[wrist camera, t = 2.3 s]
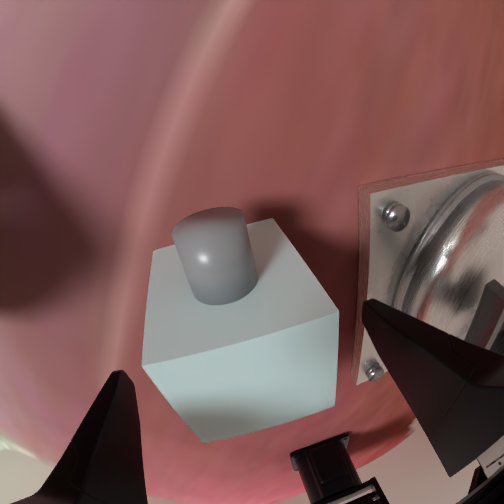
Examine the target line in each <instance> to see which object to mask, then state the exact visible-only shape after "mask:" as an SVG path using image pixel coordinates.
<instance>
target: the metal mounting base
mask: <svg viewBox="0 0 504 504" xmlns="http://www.w3.org/2000/svg"><path fill="white" fill-rule="evenodd" d="M358 202H359V273H358V297H357V313H356V327H355V339H354V349H353V359H352V368H351V377H352V379H353V380H354V382H355V384H356V385H358V384H360V383H363V382H365V381H367V380H369V381H371V382H373V381H376V380H378V379H379V378H380V377H381V376H382V375H383V374H384V373H385V372H387V371H388V370H387V368H386V367H385V365H384V363H383V362H382V360H381V359H380V357H379V355H378V353H377V351H376V349H375V347H374V345H373V343H372V341H371V339H370V337H369V335H368V333H367V331H366V329H365V327H364V325H363V322H362V318H361V316H362V305H363V302H364V301H366V300H369V299H372V298H373V299H376V300H378V301H381V302H383V303H385V304H387V305H389V306H391V307H393V308H396V309H398V310H400V311H402V312H404V313H406V314H408V315H411V316H413V317H415V318H417V319H419V320H421V321H423V322H426V323H428V324H430V325H432V326H434V327H436V328H438V329H440V330H443V331H445V332H447V333H448V334H451V335H453V336H455V337H458V338H460V339H462V340H464V341H467V342H469V343H472V344H474V345H477V346H479V347H482V348H485V349H488V350H491V351H494V352H496V353H499V354H502V355H504V159H498V160H492V161H486V162H480V163H474V164H468V165H462V166H457V167H451V168H446V169H440V170H435V171H430V172H425V173H419V174H414V175H409V176H404V177H399V178H395V179H390V180H385V181H380V182H376V183H371V184H366V185H362V186H358Z"/></svg>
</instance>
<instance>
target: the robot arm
mask: <svg viewBox="0 0 504 504" xmlns="http://www.w3.org/2000/svg"><path fill="white" fill-rule="evenodd" d="M361 318H362V322H363V325H364V327H365V329H366V331H367V333H368V335H369V337H370V339H371V341H372V343H373V345H374V347H375V349H376V351H377V353H378V355H379V357H380V359H381V360H382V362H383V363H384V365H385V367H386V368H387V370H388V371H389V373H390V375H391V376H392V378H393V380H394V381H395V383H396V384H397V386H398V388H399V389H400V391H401V393H402V394H403V396H404V398H405V399H406V401H407V403H408V404H409V406H410V408H411V409H412V411H413V413H414V415H415V416H416V418H417V420H418V421H419V423H420V425H421V427H422V428H423V430H424V432H425V434H426V435H427V437H428V439H429V441H430V443H431V444H432V446H433V448H434V450H435V452H436V453H437V455H438V457H439V459H440V460H441V463H442V464H443V466H444V468H445V470H446V472H447V474H448V476H449V477H451V476H453V475H454V474H456V473H457V472H459V471H460V470H462V469H463V468H464V467H465V466H467V465H468V464H470V463H471V462H472V461H474V460H475V459H477V460H478V462H479V464H480V466H479V467H477V468H476V469H475V471H474V475H473V478H472V482H471V486H470V489H469V493H468V495H467V496H466V497H464V498H463V499H462V500H460V501H459V502H458V503H456V504H504V355H502V354H499V353H496V352H494V351H491V350H488V349H485V348H482V347H479V346H477V345H474V344H472V343H469V342H467V341H464V340H462V339H460V338H458V337H455V336H453V335H451V334H448V333H447V332H445V331H443V330H440V329H438V328H436V327H434V326H432V325H430V324H428V323H426V322H423V321H421V320H419V319H417V318H415V317H413V316H411V315H408V314H406V313H404V312H402V311H400V310H398V309H396V308H393V307H391V306H389V305H387V304H385V303H383V302H381V301H378V300H376V299H373V298H372V299H369V300H366V301H364V302H363V305H362V316H361ZM349 438H350V436H349V434H344V435H341V436H339V437H336V438H334V439H331V440H329V441H326V442H323V443H321V444H318V445H315V446H312V447H309V448H306V449H303V450H300V451H297V452H294V453H292V454H290V458H291V462H292V465H293V469H294V471H299V473H300V476H301V479H302V482H303V484H304V487H305V490H306V492H307V495H308V498H309V500H310V503H311V504H338V503H340V502H343V501H345V500H348V499H350V498H352V497H355V496H357V495H359V494H361V493H364V492H366V491H368V490H370V489H372V492H371V493H368V494H366V495H364V496H362V497H360V498H357V499H355V500H353V501H350V502H348V503H346V504H389V502H388V500H387V499H386V497H385V495H384V493H383V491H382V489H381V487H380V486H379V484H378V482H377V480H376V478H375V477H373V478H371V479H370V480H369V481H366V482H365V483H362V482H361V480H360V478H359V476H358V474H357V472H356V469H355V467H354V465H353V463H352V461H351V459H350V456H349V454H348V452H347V450H346V449H347V446H348V442H349ZM375 499H376V500H375ZM373 500H375V501H373ZM11 504H148V502H147V495H146V487H145V478H144V469H143V458H142V446H141V430H140V420H139V413H138V406H137V400H136V392H135V386H134V384H133V382H132V380H131V379H130V378H129V377H128V375H127V374H126V373H125V372H124V371H123V370H117V371H113V372H112V373H111V375H110V376H109V378H108V379H107V381H106V383H105V384H104V386H103V387H102V389H101V391H100V392H99V394H98V396H97V397H96V399H95V401H94V402H93V404H92V406H91V407H90V409H89V411H88V412H87V414H86V416H85V417H84V419H83V421H82V422H81V424H80V426H79V428H78V429H77V431H76V433H75V435H74V436H73V438H72V440H71V442H70V443H69V445H68V447H67V449H66V450H65V452H64V454H63V455H62V457H61V459H60V460H59V462H58V463H57V465H56V466H55V468H54V469H53V471H52V472H51V474H50V475H49V477H48V478H47V480H46V481H45V483H44V484H43V485H42V487H41V488H40V489H39V490H38V492H36V493H35V494H34V495H32V496H30V497H27V498H25V499H22V500H19V501H17V502H14V503H11Z"/></svg>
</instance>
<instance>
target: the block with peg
mask: <svg viewBox="0 0 504 504" xmlns="http://www.w3.org/2000/svg"><path fill="white" fill-rule="evenodd" d="M172 238H173V240H174V243H175V245H171V246H168V247H164V248H161V249H157V250H154V251H153V257H152V264H151V272H150V279H149V288H148V296H147V306H146V315H145V326H144V339H143V353H142V367H143V368H144V370H145V371H146V373H147V374H148V375H149V377H150V378H151V380H152V381H153V382H154V384H155V385H156V386H157V388H158V389H159V390H160V392H161V393H162V394H163V396H164V397H165V398H166V399H167V401H168V402H169V403H170V405H171V406H172V407H173V408H174V410H175V411H176V412H177V413H178V414H179V416H180V417H181V418H182V419H183V421H184V422H185V423H186V424H187V425H188V426H189V428H190V429H191V430H192V431H193V432H194V433H195V434H196V436H197V437H198V438H199V439H200V440H201V441H202V442H203V443H207V442H213V441H218V440H222V439H227V438H231V437H236V436H240V435H244V434H248V433H252V432H256V431H260V430H263V429H267V428H270V427H274V426H277V425H281V424H284V423H287V422H290V421H293V420H297V419H300V418H303V417H306V416H308V415H311V414H314V413H317V412H320V411H322V410H325V409H328V408H330V407H333V406H335V395H336V381H337V363H338V338H339V310H338V309H337V307H336V306H335V304H334V303H333V301H332V300H331V299H330V297H329V296H328V294H327V293H326V291H325V290H324V289H323V287H322V286H321V284H320V283H319V281H318V280H317V279H316V277H315V276H314V274H313V273H312V271H311V270H310V269H309V267H308V266H307V264H306V263H305V262H304V260H303V259H302V257H301V256H300V255H299V253H298V252H297V250H296V249H295V248H294V246H293V245H292V244H291V242H290V241H289V239H288V238H287V237H286V235H285V234H284V233H283V231H282V230H281V228H280V227H279V226H278V224H277V223H276V222H275V220H274V219H273V218H270V219H266V220H262V221H258V222H254V223H251V224H247V225H246V220H245V216H244V213H243V212H242V211H241V210H239V209H237V208H232V207H217V208H211V209H207V210H203V211H200V212H197V213H194V214H192V215H190V216H188V217H186V218H184V219H183V220H181V221H180V222H179V223H178V224H176V226H175V227H174V228H173V230H172Z"/></svg>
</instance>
